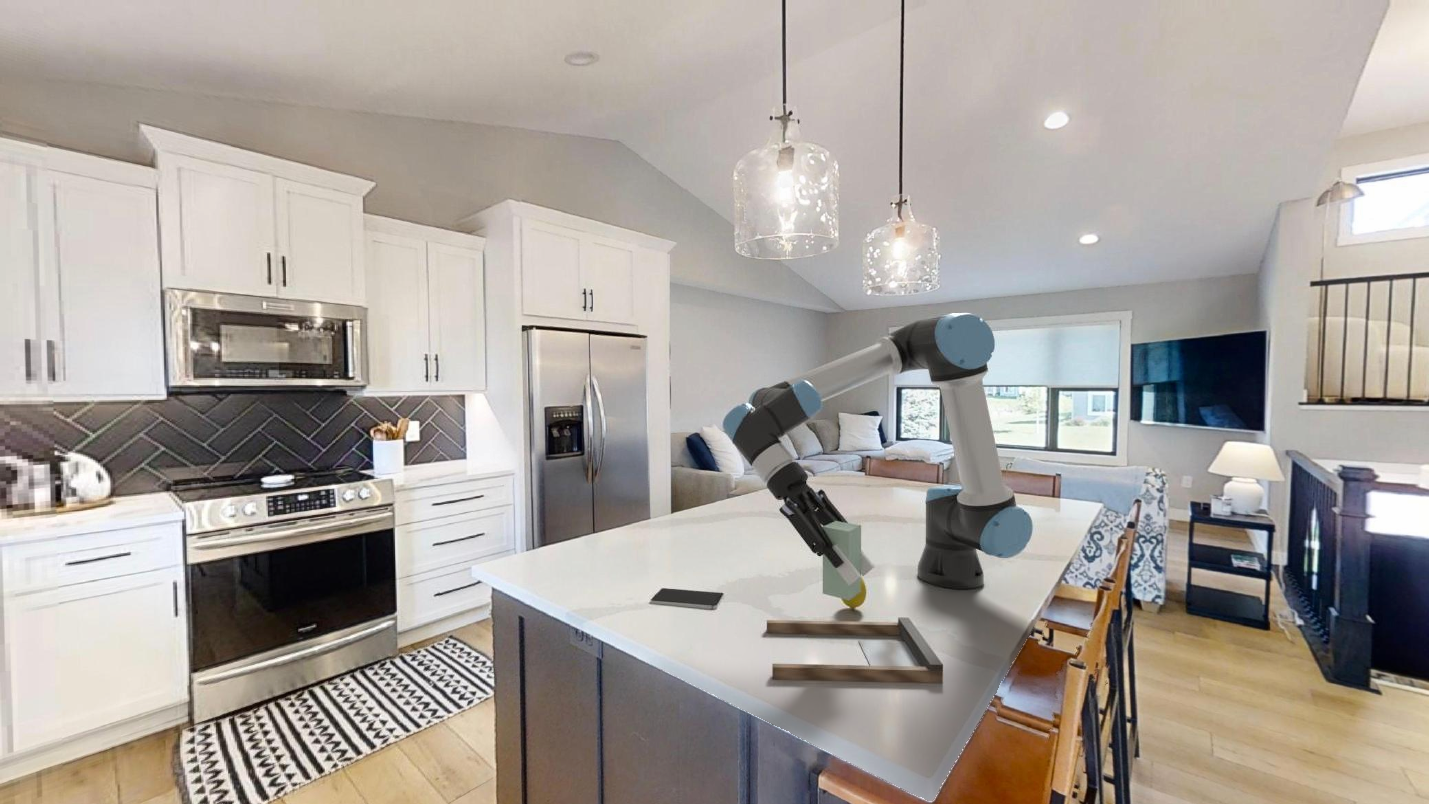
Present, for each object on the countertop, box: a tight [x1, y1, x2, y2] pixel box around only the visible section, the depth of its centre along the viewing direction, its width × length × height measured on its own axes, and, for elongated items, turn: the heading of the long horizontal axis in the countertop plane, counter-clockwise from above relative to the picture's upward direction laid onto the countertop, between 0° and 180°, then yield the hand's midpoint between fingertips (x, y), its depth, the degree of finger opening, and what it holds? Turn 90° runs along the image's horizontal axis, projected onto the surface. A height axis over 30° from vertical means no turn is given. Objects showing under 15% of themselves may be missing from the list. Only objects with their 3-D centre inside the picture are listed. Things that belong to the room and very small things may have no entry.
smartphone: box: [650, 587, 725, 610], centre depth 126 cm, size 8×1×15 cm
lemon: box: [840, 577, 867, 610], centre depth 121 cm, size 6×6×8 cm
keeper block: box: [822, 521, 862, 600], centre depth 100 cm, size 5×5×12 cm
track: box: [766, 616, 944, 684], centre depth 101 cm, size 28×18×3 cm, turn 88°
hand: (862, 575), depth 98 cm, fingers closed on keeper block, 5 cm apart
